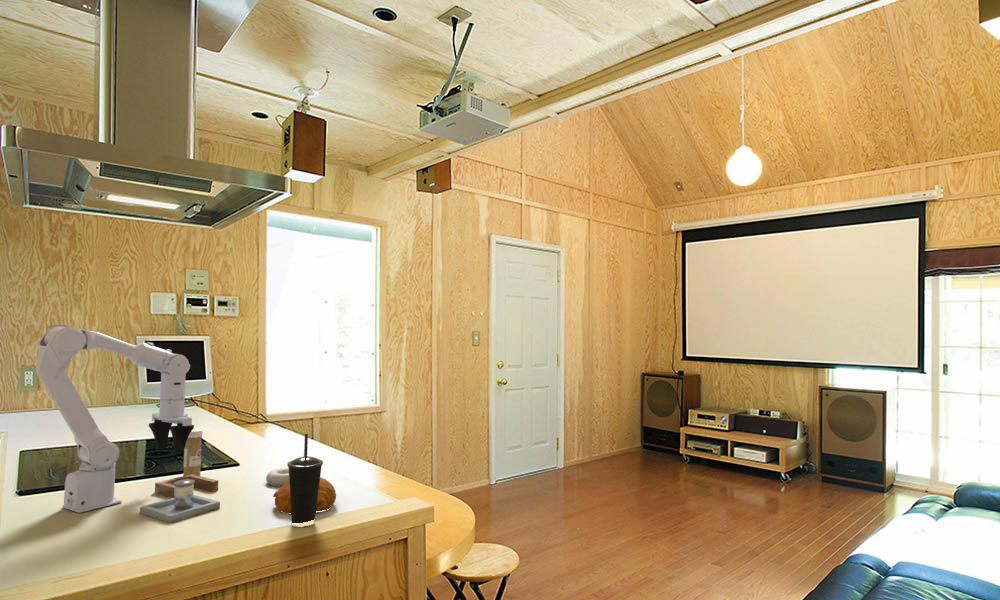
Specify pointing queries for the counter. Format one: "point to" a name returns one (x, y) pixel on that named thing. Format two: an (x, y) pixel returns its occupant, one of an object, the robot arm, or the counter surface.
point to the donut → (278, 477)
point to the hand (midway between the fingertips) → (170, 450)
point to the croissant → (323, 501)
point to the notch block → (200, 482)
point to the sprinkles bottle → (193, 453)
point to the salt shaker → (183, 494)
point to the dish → (169, 514)
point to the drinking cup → (304, 486)
